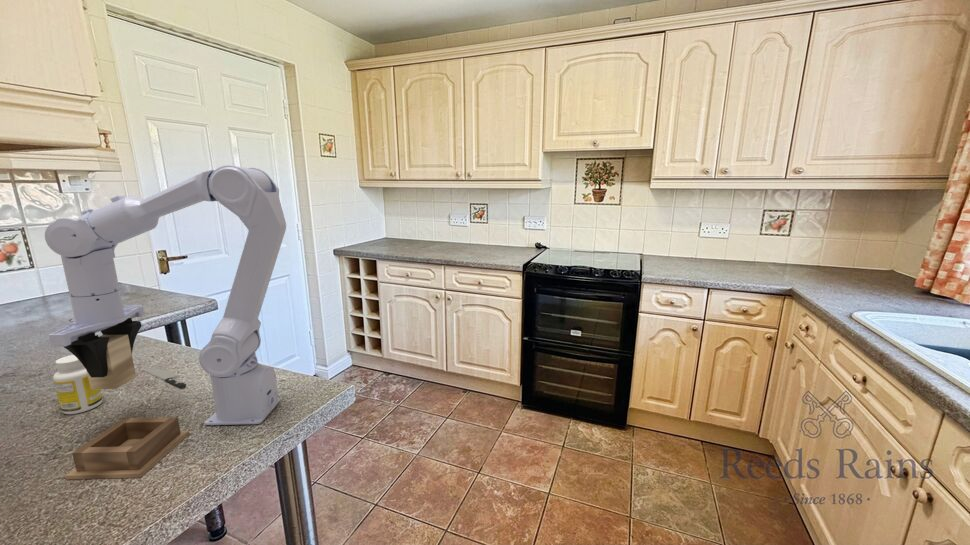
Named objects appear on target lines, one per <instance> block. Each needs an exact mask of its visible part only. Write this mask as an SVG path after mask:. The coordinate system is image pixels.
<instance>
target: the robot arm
mask: <svg viewBox="0 0 970 545" xmlns="http://www.w3.org/2000/svg"><path fill="white" fill-rule="evenodd" d="M110 201H111V203H108V204H105V205H103V206H101V207H98V208H96V209H92V208H86V209H84V210H81V211H80V213H81V215H80V216H79V217H77V218H76V217H75V218H72V217H71V218H70V217H60V218H57V219H56V220H54V221H53V222H51V223H49V224H48V226H47V227H46V228H45V231H44V240H45V242H46V245H47V246H48V247H49V249H50V250H52V251H53V252H54V253H55V254H57V255H59V256H60V259H61V263H62V266H63V272H64V276H65V280H66V281H65V282H66V286H67V289H68V293H69V298H70V301H71V308H72V311H73V315H74V318H72V319H71V320H70V322H71V323H69V324H68V325H66V326H64V327H62V328H60V329H59V330H57V331H54V332H52V333H49V334H48V338H49V342H50V347H54V348H58V347H59V348H60V347H61V348H62V347H63V348H65V349H66V350H67V351H68V352H70V353H71V355H74V356H76V357H77V358H78V360H79V361H80V362H81V363H82V364H83V366H84V367H85V369H86V370H87V372H88V373H89V375H90V376H91V377H105V376H107V373H108V366H107V359H106V351H107V345H108V341H109V337H99V335H98V334H97V333H98V332H100V333H101V335H128V337H129V342H130V348H131V353H132V354H133V350H134V344H135V341H136V338H137V335H138V333H139V331H140V329H142V322H141V321H140V320H133V319H134V318H135V319H136V318H141V317H144V316H145V311H144V306H143V305H142V304H141V305H137V304H135V305H133V304H131V305H129V306H125V307H124V306H123V301H122V300H123V299H122V297H121V296H122V295H121V290H120V285H119V280H118V276H117V271H116V269H117V268H116V265H115V260H114V258H116V254H115V248H116V247H118V244H121V243H123V242H126V241H128V240H130V239H132V238H133V239H134V238H135V237H139V236H140V235H142V234H144V233H147V232H149V231H152V230H154V229H155V228H157V226H158V223H159V219H160V218H162V217H164V216H167V215H169V214H172V213H175V212H178V211H180V210H182V209H183V210H184V209H186V208H189V207H191V206H194V205H196V204H199V203H202V202H218V203H219V204H220V205H222V206H224V208H226V209H227V210H228V211H230V212H231V213H232V214H234V215H235V216H236V217H238V219H239V220H240V221H241V222H242V223H243V225H244V226H245V227H246V230H248V233H247V237H246V239H245V242H244V246H243V250H242V252H241V255H240V259H239V263H238V266H237V269H236V272H235V276H234V279H233V283H232V285H231V288H230V293H229V296H228V300H227V303H226V306H225V309H224V313H223V316H222V318H221V320H220V321H219V323H218V324H217V326H216V327H215V329H214V330H213V332H212V334H211V338H210V340H209V342H208V343H207V344H206V345H204V347H202V349H201V350H200V352H199V355H198V363H199V365H200V367H201V368H202V370H203V371H204V372H205V373H206V374H208V375H209V376H210V377H209V378H210V382H211V383H210V384H211V388H212V397H213V401H214V409H215V410H214V411H215V412H214V413H213V414H212V415H211V416H210V417H208V418H207V419H206V420H205V421H204V425H205V426H222V425H224V426H227V425H230V426H231V425H235V426H236V425H259V424H262V423H263V421H264V420H265V419H266V418H267V417H268V415H269V414H270V413H272V411H273V410H274V408H275V407H276V406H277V405H278V404H279V403H280V402H281V398H280V397H279V395H278V385H277V376H276V375H277V374H276V371H275V369H274V367H272V366H270V365H269V366H267V365H263V364H262V363H259V362H258V358H257V355H256V354H257V353H256V352H257V351H258V349H259V347H260V346H261V343H262V341H261V340H262V339H261V338H262V337H261V334H260V327H261V324H262V323H261V321H260V319H259V316H260V313H261V310H262V308H263V307H262V306H263V304H264V300H265V298H266V294H267V290H268V288H269V284H270V282H271V279H272V275H273V271H274V268H275V266H276V262H277V259H278V257H279V256H278V255H279V253H280V249H281V247H282V243H283V240H284V237H285V233H286V231H287V222H286V218H285V214H284V211H283V207H282V203H281V200H280V188H279V187H278V186H277V184H276V183H275V181H274V180H273V179H272V178H271V177H270V175H269V174H268V173H267V172H265V171H264V170H262V169H260V168H256V167H240V166H236V165H234V164H233V165H232V164H226V165H222V166H219V167H218V168H216V169H210V170H205V171H201V172H200V173H198V174H196V175H193V176H190V177H189V178H187V179H184V180H182V181H180V182H178V183H176V184H174V185H172V186H170V187H168V188H165V189H163V190H161V191H159V192H157V193H155V194H152V195H150V196H148V197H146V198H144V199H143V198H140V197H137V196H134V195H129V196H125V195H115V196H113V197H110Z"/></svg>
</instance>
